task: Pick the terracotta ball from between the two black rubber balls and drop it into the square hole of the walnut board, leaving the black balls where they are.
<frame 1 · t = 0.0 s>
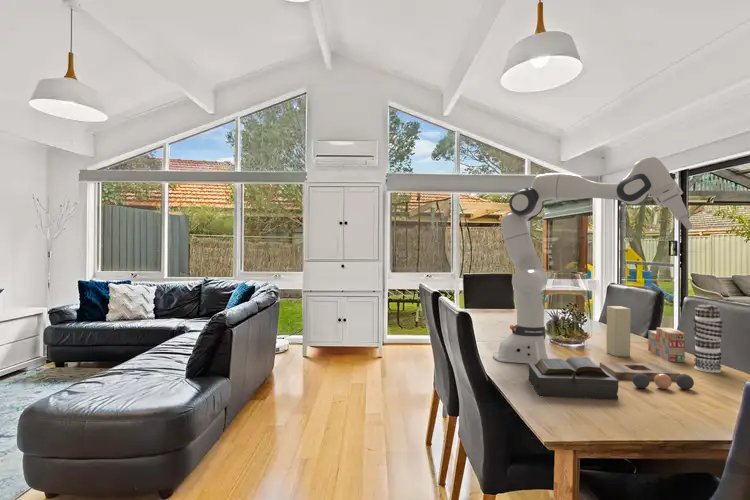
hand: (690, 228, 160), 54 cm above the table, tool tilted 30°, fingers open, 8 cm apart
terracotta ball: (662, 381, 151), point 2 cm above the table
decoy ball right: (684, 381, 150), point 2 cm above the table
bible: (570, 390, 151), on the table
stack of blocks: (665, 356, 196), on the table
walnut board: (637, 374, 168), on the table
toy refrigerator: (619, 354, 199), on the table
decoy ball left: (640, 380, 152), point 2 cm above the table
decorative candle: (707, 370, 174), on the table
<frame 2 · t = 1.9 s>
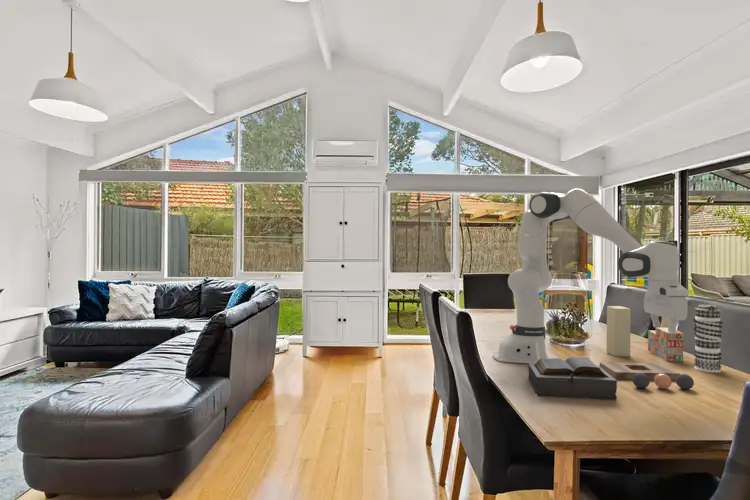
hand: (664, 329, 151), 20 cm above the table, tool pointing down, fingers open, 8 cm apart
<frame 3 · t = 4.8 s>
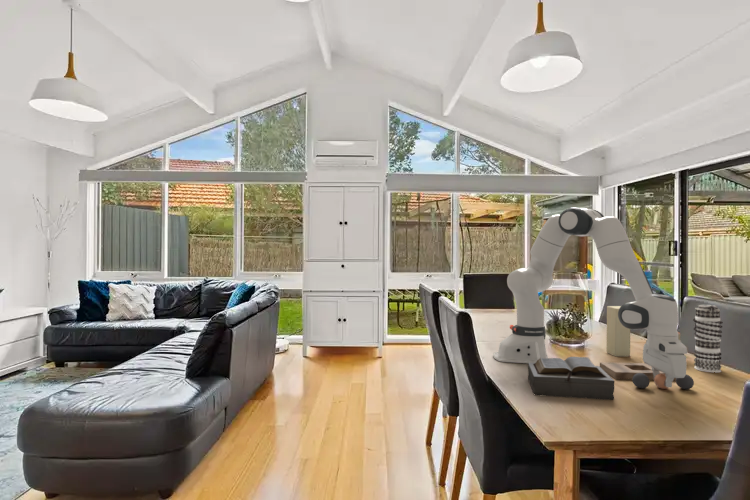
hand: (662, 383, 151), 2 cm above the table, tool pointing down, fingers closed on terracotta ball, 5 cm apart
terracotta ball: (662, 381, 151), point 2 cm above the table, touching gripper
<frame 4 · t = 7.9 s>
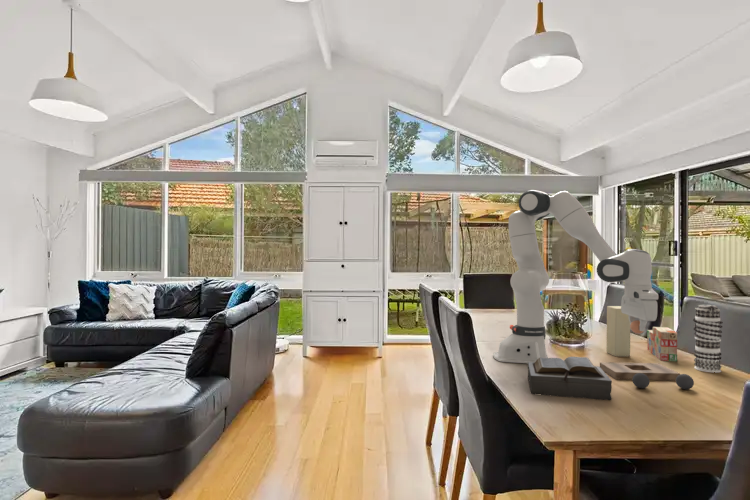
hand: (637, 329, 168), 17 cm above the table, tool pointing down, fingers closed on terracotta ball, 5 cm apart
terracotta ball: (637, 326, 168), point 18 cm above the table, touching gripper
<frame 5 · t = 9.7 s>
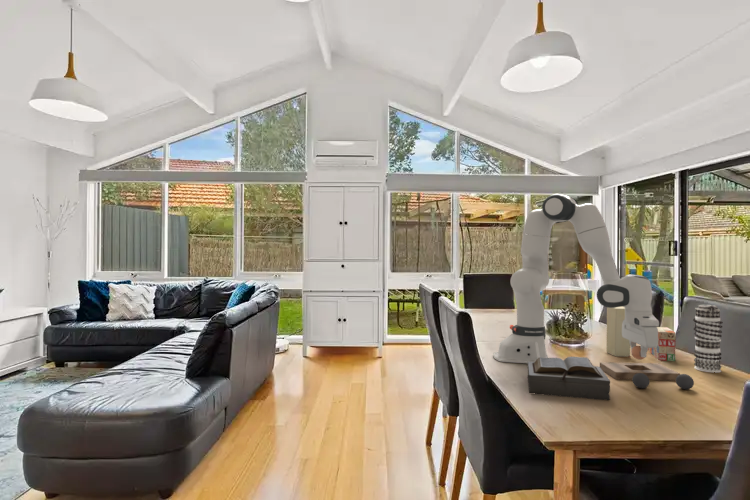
hand: (638, 354, 168), 7 cm above the table, tool pointing down, fingers closed on terracotta ball, 5 cm apart
terracotta ball: (638, 352, 168), point 8 cm above the table, touching gripper
when the fingers open (4 cm above the table, at t = 11.2 s): terracotta ball drops 2 cm, point 2 cm above the table.
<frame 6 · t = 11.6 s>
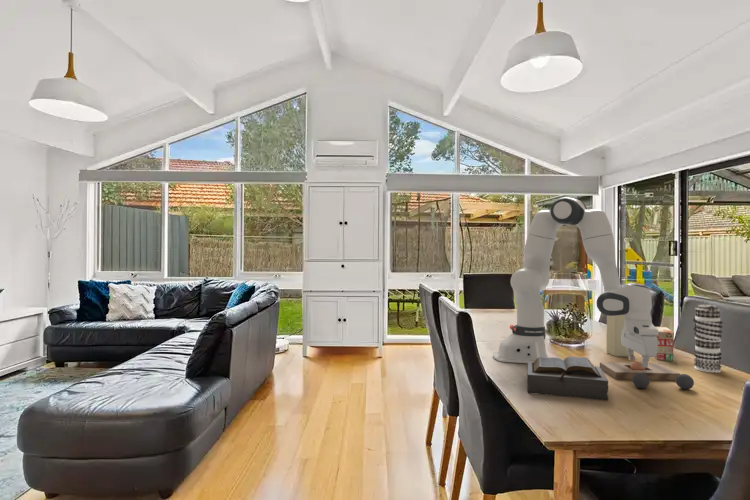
hand: (637, 363, 168), 4 cm above the table, tool pointing down, fingers open, 8 cm apart
terracotta ball: (638, 367, 168), point 2 cm above the table
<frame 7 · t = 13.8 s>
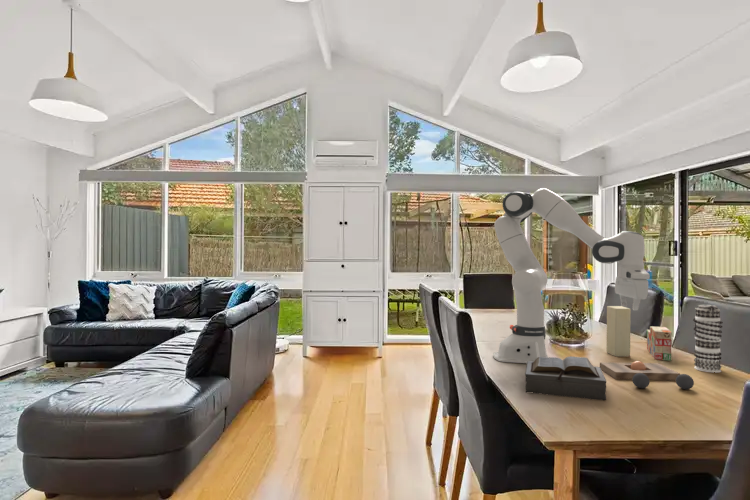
hand: (629, 308, 175), 24 cm above the table, tool pointing down, fingers open, 8 cm apart
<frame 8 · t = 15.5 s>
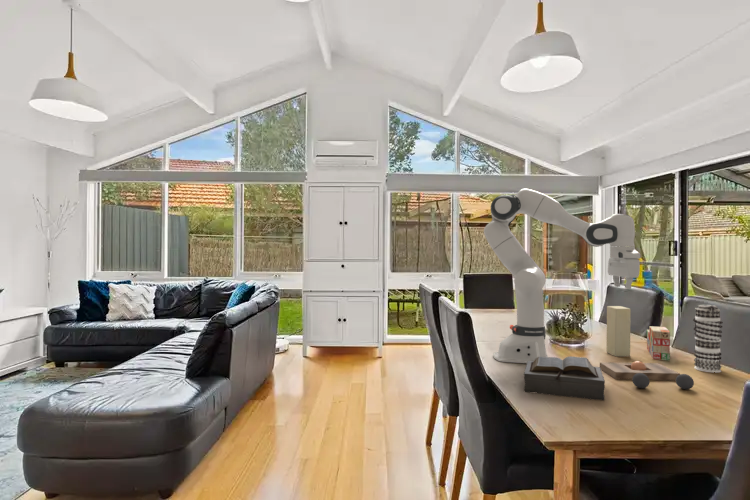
hand: (622, 287, 183), 31 cm above the table, tool pointing down, fingers open, 8 cm apart
at the end: terracotta ball 0.2 cm off-centre on the walnut board, point 2.5 cm above the walnut board's base; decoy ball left moved 0.0 cm from its start; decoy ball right moved 0.0 cm from its start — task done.
